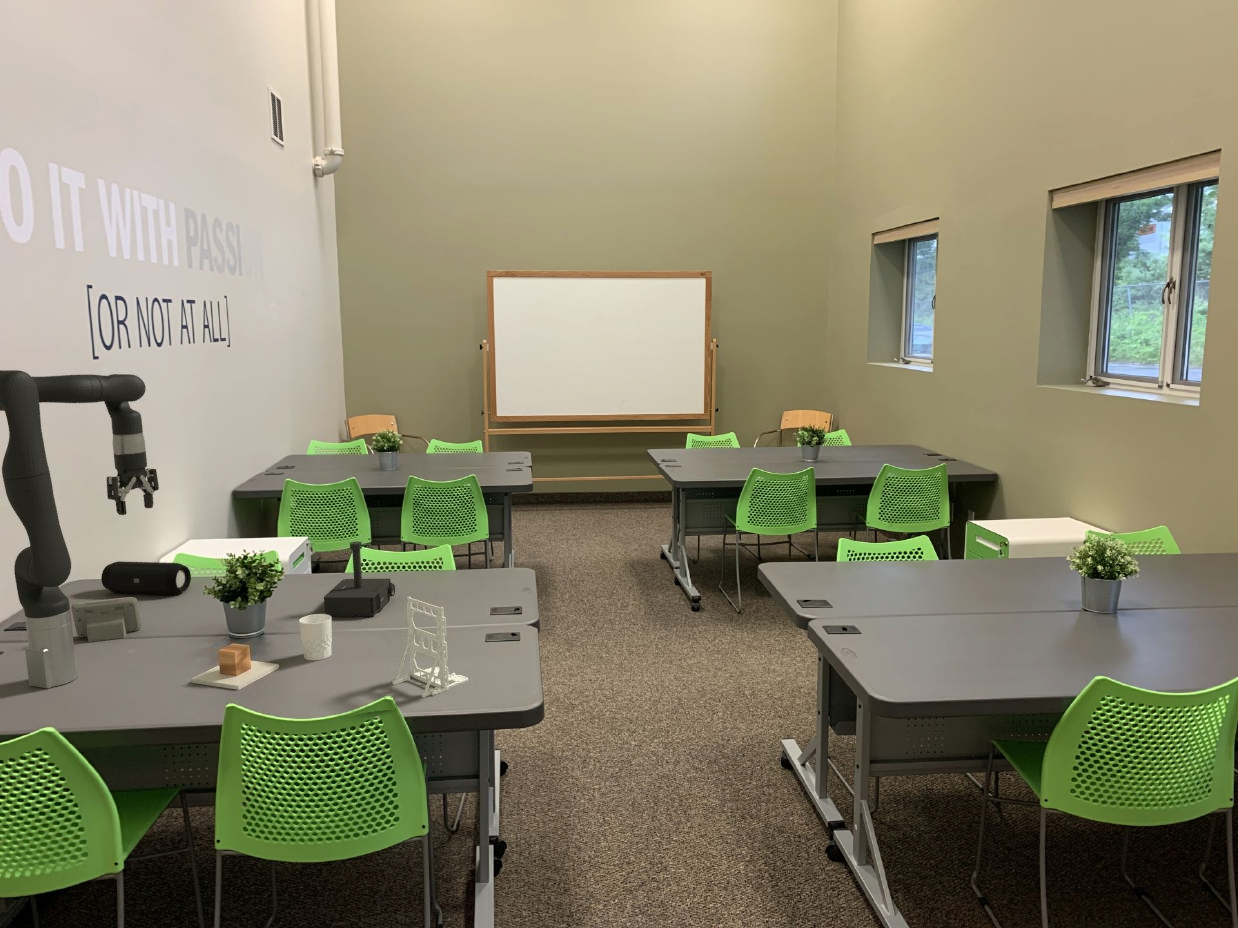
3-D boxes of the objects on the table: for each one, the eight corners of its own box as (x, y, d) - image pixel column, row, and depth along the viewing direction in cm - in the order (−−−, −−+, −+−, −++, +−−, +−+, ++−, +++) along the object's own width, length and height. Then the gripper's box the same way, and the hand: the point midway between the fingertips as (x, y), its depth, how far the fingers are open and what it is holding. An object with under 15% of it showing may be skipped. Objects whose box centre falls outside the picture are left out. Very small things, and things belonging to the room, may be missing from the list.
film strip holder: (473, 680, 220) (470, 600, 217) (426, 699, 210) (422, 614, 207) (436, 666, 230) (432, 588, 226) (389, 682, 219) (384, 602, 216)
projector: (381, 617, 268) (377, 550, 264) (323, 618, 268) (319, 551, 265) (398, 597, 286) (394, 535, 283) (344, 598, 287) (340, 535, 284)
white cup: (301, 652, 240) (298, 616, 238) (332, 648, 243) (330, 612, 241) (302, 663, 233) (299, 625, 231) (334, 658, 235) (332, 621, 234)
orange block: (236, 676, 222) (234, 652, 221) (220, 673, 224) (217, 650, 223) (251, 668, 227) (249, 645, 226) (234, 666, 228) (232, 643, 227)
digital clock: (145, 628, 261) (141, 592, 259) (133, 639, 252) (129, 602, 250) (83, 632, 258) (79, 595, 256) (69, 643, 249) (65, 605, 248)
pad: (238, 689, 217) (238, 685, 216) (191, 682, 221) (191, 678, 221) (278, 668, 230) (278, 664, 229) (233, 661, 234) (233, 658, 234)
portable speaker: (101, 596, 292) (97, 565, 290) (121, 587, 301) (118, 557, 300) (175, 598, 288) (172, 567, 287) (194, 589, 298) (191, 559, 296)
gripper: (140, 446, 249) (146, 505, 252) (95, 454, 236) (102, 516, 238) (162, 447, 247) (168, 506, 249) (117, 455, 233) (124, 517, 236)
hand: (135, 511), depth 244 cm, fingers open, 8 cm apart
